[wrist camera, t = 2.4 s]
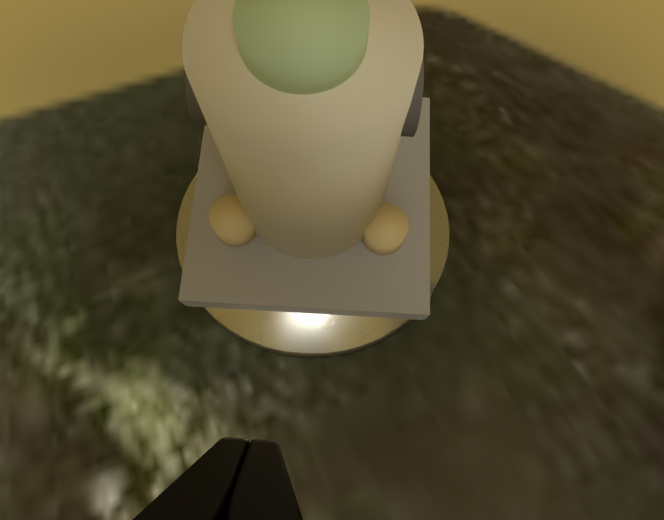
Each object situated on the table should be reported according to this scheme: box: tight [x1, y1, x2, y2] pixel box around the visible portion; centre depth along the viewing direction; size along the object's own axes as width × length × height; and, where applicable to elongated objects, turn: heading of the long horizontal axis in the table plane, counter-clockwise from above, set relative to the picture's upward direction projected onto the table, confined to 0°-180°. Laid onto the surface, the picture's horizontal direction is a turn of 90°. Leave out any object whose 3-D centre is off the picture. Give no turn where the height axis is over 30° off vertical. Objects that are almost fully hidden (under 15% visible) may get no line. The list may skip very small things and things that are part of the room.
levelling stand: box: [176, 172, 449, 358], centre depth 23 cm, size 13×13×2 cm
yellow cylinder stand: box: [178, 0, 430, 320], centre depth 17 cm, size 10×10×11 cm
